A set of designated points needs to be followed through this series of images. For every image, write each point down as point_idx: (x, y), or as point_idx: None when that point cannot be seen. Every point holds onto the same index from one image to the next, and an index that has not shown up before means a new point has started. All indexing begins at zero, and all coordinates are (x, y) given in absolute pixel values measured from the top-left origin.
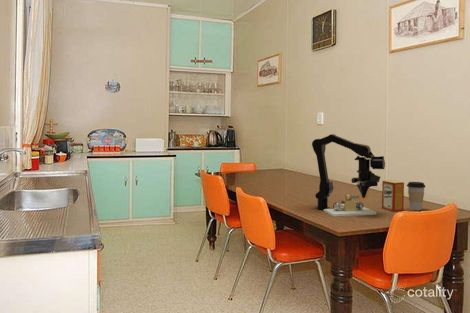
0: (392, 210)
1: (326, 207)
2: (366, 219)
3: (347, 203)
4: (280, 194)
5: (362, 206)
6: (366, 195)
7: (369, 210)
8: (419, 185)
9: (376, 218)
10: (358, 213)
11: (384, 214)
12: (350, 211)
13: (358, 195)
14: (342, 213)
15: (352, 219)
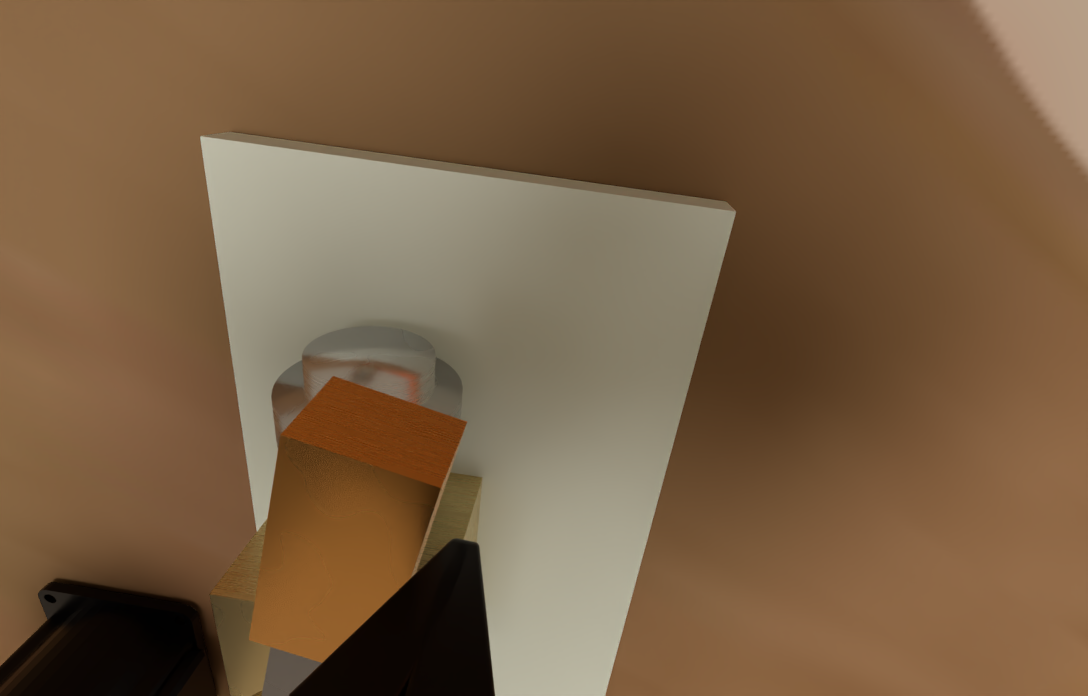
0: None
1: (200, 670)
2: (917, 548)
3: None
4: None
5: (461, 400)
6: (321, 455)
7: (526, 240)
8: None
9: (968, 390)
10: (649, 526)
11: (801, 7)
12: (502, 562)
13: (284, 650)
14: (582, 692)
15: (808, 673)
